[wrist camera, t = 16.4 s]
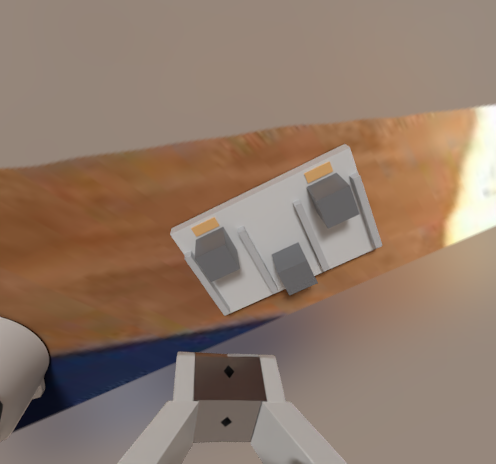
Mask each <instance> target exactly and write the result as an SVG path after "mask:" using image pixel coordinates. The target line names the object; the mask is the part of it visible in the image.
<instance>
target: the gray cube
mask: <svg viewBox="0 0 496 464" xmlns="http://www.w3.org/2000/svg"><path fill="white" fill-rule="evenodd" d="M195 260H196V261H197V262H198V264H199V265H200V267H201V268H202V270H203V271H204V273H205V274H206V276H207V277H208V279H209V280H210V282H213V281H215V280H217V279H219V278H222V277H224V276H226V275H228V274H230V273H232V272H235V271H237V270H239V269H240V265H239V259H238V252H237V249H236V247H235V246H234V244H233V242H232V241H231V239H230V237H229V235H228V234H227V232H226V230H225V229H224V227H221V228H219V229H217V230H215V231H213V232H211V233H209V234H207V235H205V236H203V237H201V238H198V239H196V244H195Z"/></svg>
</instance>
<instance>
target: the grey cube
mask: <svg viewBox="0 0 496 464" xmlns="http://www.w3.org/2000/svg"><path fill="white" fill-rule="evenodd" d="M307 189H308V192H309V194H310V197H311V199H312V202H313V204H314V206H315V209H316V211H317V213H318V215H319V216H320V218H321V219H322V221H323V222H324V224H325V225H326V227H327V228H328V229H329V228H331V227H333V226H335V225H337V224H339V223H342V222H344V221H346V220H348V219H350V218H352V217H355V216H357V215H359V211H358V208H357V205H356V202H355V199H354V196H353V193H352V190H351V187H350V185H349V184H348V183H347V182H346V181H345V180H344V179H343V178H342V177H341V176H340V175H339V174H337V173H334V174H332V175H330V176H328V177H326V178H324V179H322V180H320V181H318V182H316V183H314V184H312V185H309V186H307Z"/></svg>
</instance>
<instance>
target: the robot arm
mask: <svg viewBox="0 0 496 464" xmlns="http://www.w3.org/2000/svg"><path fill="white" fill-rule="evenodd" d="M48 365H49V355H48V351H47V349H46V347H45V345H44V344H43V342H42V341H41V340H40V339H39V338H38V337H37V336H36V335H35V334H34V333H33V332H31V331H30V330H29V329H27V328H26V327H24V326H22V325H20V324H18V323H16V322H14V321H11V320H8V319H5V318H2V317H0V442H1V441H3V440H6V439H7V438H8V437H9V436H10V435H11V433H12V432H13V430H14V428H15V427H16V425H17V424H18V422H19V420H20V419H21V417H22V415H23V414H24V412H25V410H26V409H27V407H28V405H29V404H30V402H31V400H32V399H36V398H39V397H40V396H41V395H42V394H43V392H44V390H45V382H44V375H45V373H46V371H47V368H48ZM198 442H199V443H200V442H251V445H252V447H253V448H254V450H255V452H256V453H257V455H258V456H259V458H260V460H261V461H262V463H263V464H347V463H346V462H345V461H344V459H343V458H341V456H340V455H339V454H338V453H337V452H336V451H335V450H334V449H333V448H332V446H331V445H330V444H329V443H328V442H327V441H326V440H325V439H324V438H323V437H322V436H321V435H320V433H319V432H318V431H317V430H316V429H315V428H314V427H313V426H312V425H311V424H310V423H309V421H308V420H307V419H306V418H305V417H304V416H303V415H302V414H301V413H300V412H299V410H298V409H296V407H295V406H294V405H293V404H292V403H291V402H286V400H285V396H284V391H283V387H282V382H281V378H280V374H279V369H278V365H277V361H276V357H275V356H274V355H256V354H214V353H198V352H195V353H194V352H178V354H177V362H176V373H175V382H174V392H173V401H167V402H166V404H165V405H164V406H163V407H162V409H161V410H160V411H159V412H158V414H157V415H156V416H155V418H154V419H153V420H152V421H151V422H150V424H149V425H148V426H147V427H146V429H145V430H144V431H143V432H142V434H141V435H140V436H139V437H138V438H137V440H136V441H135V442H134V443H133V445H132V446H131V447H130V448H129V450H128V451H127V452H126V453H125V455H124V456H123V457H122V458H121V460H120V461H119V462H118V463H117V464H182V462H183V461H184V459H185V457H186V455H187V454H188V452H189V450H190V449H191V447H192V445H193V443H198Z"/></svg>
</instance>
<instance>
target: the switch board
mask: <svg viewBox="0 0 496 464" xmlns="http://www.w3.org/2000/svg"><path fill="white" fill-rule="evenodd" d="M334 173H337V174H339V175H340V176H341V177H342V178H343V179H344V180H345V181H346V182H347V183H348V184H349V185H350V187H351V190H352V193H353V196H354V199H355V202H356V205H357V208H358V211H359V215H357V216H355V217H352V218H350V219H348V220H346V221H344V222H342V223H339V224H337V225H335V226H333V227H331V228H329V229H328V228H327V227H326V225H325V224H324V222H323V221H322V219H321V218H320V216H319V215H318V213H317V211H316V209H315V206H314V204H313V202H312V199H311V197H310V194H309V192H308V189H307V186H309V185H312V184H314V183H316V182H318V181H320V180H322V179H324V178H326V177H328V176H330V175H332V174H334ZM221 227H224V229H225V230H226V232H227V234H228V235H229V237H230V239H231V241H232V242H233V244H234V246H235V247H236V249H237V252H238V259H239V265H240V269H239V270H237V271H235V272H232V273H230V274H228V275H226V276H224V277H222V278H219V279H217V280H215V281H213V282H210V280H209V279H208V277H207V276H206V274H205V273H204V271H203V270H202V268H201V267H200V265H199V264H198V262H197V261H196V260H195V244H196V239H198V238H201V237H203V236H205V235H207V234H209V233H211V232H213V231H215V230H217V229H219V228H221ZM170 235H171V236H172V238H173V239H174V241H175V242H176V244H177V245H178V247H179V248H180V249H181V251H182V252H183V254H184V255H185V260H186V261H187V263H188V264H189V266H190V267H191V269H192V270H193V271H194V273H195V274H196V276H197V277H198V279H199V280H200V281H201V283H202V284H203V286H204V287H205V289H206V290H207V291H208V293H209V294H210V296H211V297H212V299H213V300H214V301H215V303H216V304H217V306H218V307H219V309H220V310H221V311H222V313H223V314H224V316H225V315H228V314H230V313H232V312H234V311H237V310H239V309H241V308H243V307H246V306H248V305H250V304H252V303H255V302H257V301H259V300H261V299H264V298H266V297H268V296H270V295H273V294H275V293H277V292H279V291H282V290H284V289H286V288H285V286H284V285H283V283H282V281H281V279H280V277H279V275H278V273H277V270H276V267H275V264H274V261H273V258H272V254H274V253H276V252H278V251H280V250H282V249H285V248H287V247H289V246H291V245H293V244H295V243H298V242H299V244H300V246H301V249H302V251H303V253H304V255H305V257H306V259H307V261H308V263H309V265H310V268H311V270H312V272H313V274H314V276H315V275H318V274H320V273H322V272H324V271H327V270H329V269H331V268H333V267H336V266H338V265H340V264H342V263H345V262H347V261H349V260H351V259H354V258H356V257H358V256H360V255H363V254H365V253H367V252H369V251H372V250H374V249H376V248H378V247H381V246H382V242H381V239H380V236H379V233H378V230H377V227H376V224H375V221H374V218H373V214H372V211H371V208H370V205H369V202H368V199H367V196H366V193H365V189H364V186H363V183H362V180H361V177H360V175H359V174H358V171H357V168H356V165H355V162H354V159H353V156H352V153H351V150H350V147H349V146H347V145H346V144H344V145H342V146H339V147H337V148H335V149H333V150H331V151H329V152H327V153H325V154H323V155H321V156H319V157H317V158H315V159H313V160H311V161H309V162H307V163H305V164H303V165H301V166H299V167H296V168H294V169H292V170H290V171H288V172H286V173H284V174H282V175H280V176H278V177H276V178H274V179H272V180H270V181H268V182H266V183H264V184H262V185H260V186H258V187H256V188H253V189H251V190H249V191H247V192H245V193H243V194H241V195H239V196H237V197H235V198H233V199H231V200H229V201H227V202H225V203H223V204H221V205H219V206H217V207H215V208H212V209H210V210H208V211H206V212H204V213H202V214H200V215H198V216H196V217H194V218H192V219H190V220H188V221H186V222H184V223H182V224H180V225H178V226H176V227H174V228H172V229H171V233H170Z"/></svg>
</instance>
